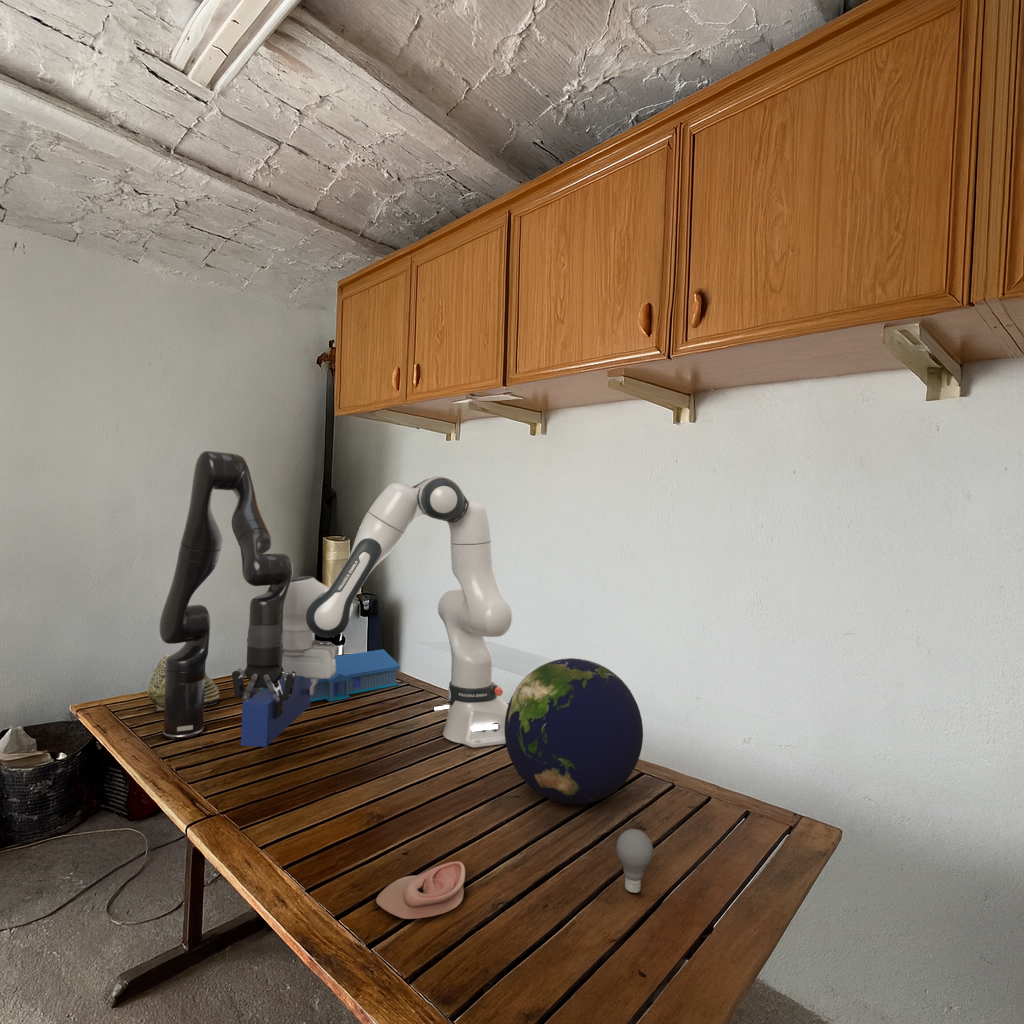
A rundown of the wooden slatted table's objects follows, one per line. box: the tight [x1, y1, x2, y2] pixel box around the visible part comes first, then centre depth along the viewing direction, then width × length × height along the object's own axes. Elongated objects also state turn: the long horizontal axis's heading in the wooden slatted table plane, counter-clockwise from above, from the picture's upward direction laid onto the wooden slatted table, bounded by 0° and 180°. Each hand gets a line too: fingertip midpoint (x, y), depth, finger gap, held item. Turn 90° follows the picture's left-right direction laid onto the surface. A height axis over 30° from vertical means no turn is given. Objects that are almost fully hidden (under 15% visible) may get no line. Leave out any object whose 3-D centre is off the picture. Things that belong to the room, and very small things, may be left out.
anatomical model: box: [375, 860, 466, 920], centre depth 101 cm, size 13×4×12 cm
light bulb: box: [615, 828, 654, 894], centre depth 106 cm, size 6×6×10 cm
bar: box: [240, 676, 311, 748], centre depth 152 cm, size 28×6×10 cm, turn 179°
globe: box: [504, 657, 644, 805], centre depth 138 cm, size 30×30×30 cm
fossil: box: [147, 654, 221, 712], centre depth 185 cm, size 9×18×15 cm, turn 132°
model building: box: [258, 649, 401, 703], centre depth 208 cm, size 39×24×10 cm, turn 132°
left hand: (262, 716), depth 143 cm, fingers closed on bar, 5 cm apart
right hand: (294, 693), depth 162 cm, fingers open, 7 cm apart
